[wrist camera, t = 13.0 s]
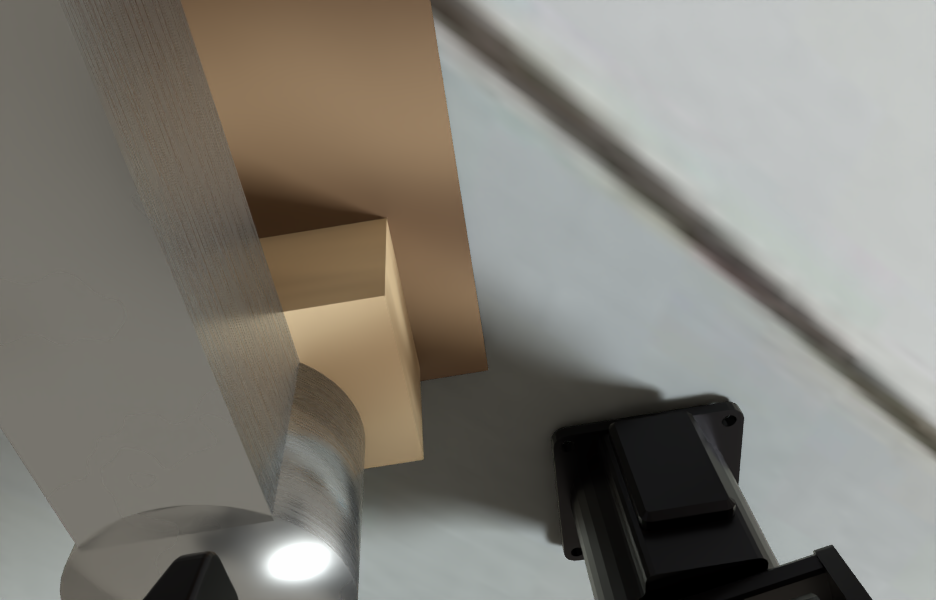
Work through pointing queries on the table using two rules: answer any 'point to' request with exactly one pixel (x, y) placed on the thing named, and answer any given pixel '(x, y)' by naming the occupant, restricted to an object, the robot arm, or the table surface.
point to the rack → (351, 194)
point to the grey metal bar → (155, 322)
